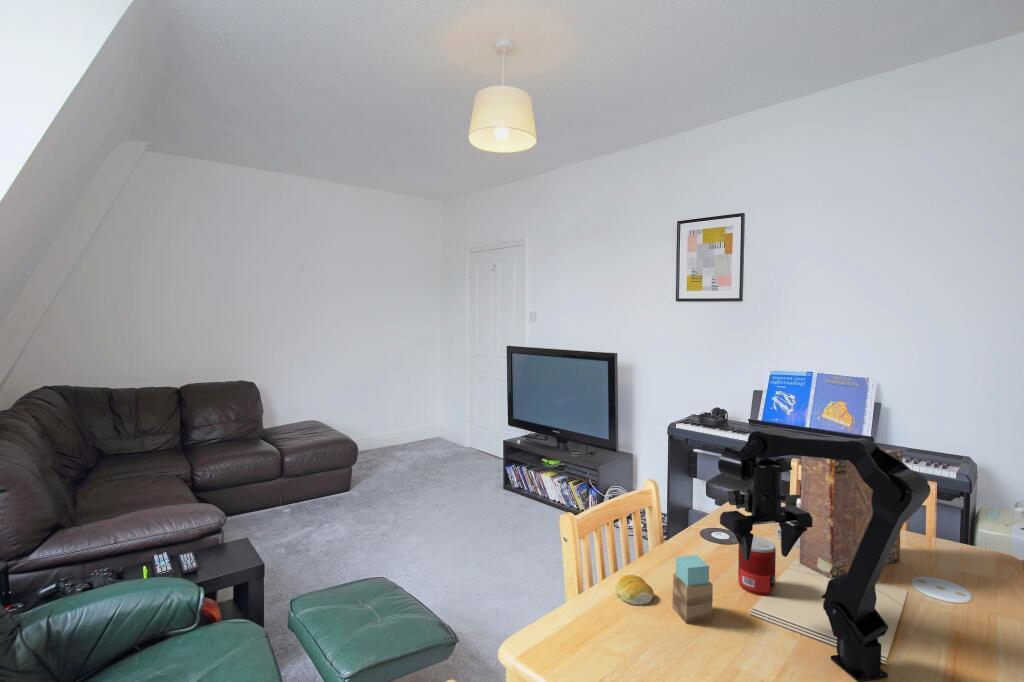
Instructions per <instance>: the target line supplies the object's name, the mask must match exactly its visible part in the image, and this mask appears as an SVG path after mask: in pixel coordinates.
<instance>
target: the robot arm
mask: <svg viewBox="0 0 1024 682" xmlns="http://www.w3.org/2000/svg"><path fill="white" fill-rule="evenodd" d="M881 448H882V447H879V446H878V445H877V444H876V443H875V442H874V441H872V440H871V439H869V438H864V437H861V438H850V437H849V438H847V437H846V438H844V437H829V436H818V435H817V436H816V435H815V436H813V435H799V434H796V433H793V432H791V431H788V430H785V429H780V428H777V427H771V428H766V429H765V428H764V429H759V430H755V431H752V432H750V434H749V435H748V438H747V442H746V443H745V444H744V446H742V448H738V447H736V446H733V445H728V446H724V451H723V453H722V454H721V455H720V457H719V460H718V461H717V468H718V470H719V472H720V474H722V475H724V476H727V477H731V478H733V479H737V480H739V481H743V482H749V481H750V480H751V487H748V488H747V490H746V493H741V492H740V490H739V489H738V490H734V489H733V490H728V493H727V500H728V503H729V505H730V506H735V509H737V510H732V511H731V510H729V511H723V512H722V513H720V515H719V525H721V526H722V527H724V528H725V529H727V530H729V531H730V532H731V533H733V534H734V537H735V538H736V540H737V543H738V547H739V546H740V549H741V552H742V554H743V557H744V559H745V560H746V561H749V558H750V554H751V548H752V541H753V536H754V534H753V533H752V531H753V529H754V528H753V527H754V525H765V524H766V525H767V524H777V523H779V525H780V528H781V540H780V550H781V551H780V552H781V555H782V556H783V557H784V558H787V556H788V555H789V553H790V552H791V550H792V549H793V547H795V546H794V544H795V543H796V541H797V540H798V539H799V537H800V536H801V535H802V534H803V532H805V531H807V528H808V527H812V523H813V518H812V517H811V515H810V513H808V512H806V511H804V510H802V509H800V508H798V507H796V506H785V505H784V506H782V501H785V500H786V497H787V495H785V494H784V493H782V481H783V480H782V478H783V477H782V476H783V473H786V472H789V471H792V470H793V467H792V466H791V464H789V463H788V462H787V461H786V459H785V458H778V459H773V458H777V457H786V456H799V457H802V456H807V457H817V458H827V459H837V460H847V461H850V462H851V463H852V464H853V465H854V466H855V468H856V470H857V471H858V473H859V475H860V476H861V478H862V480H863V481H864V482H865V483H866V484H867V485H868V486H869V487H870V488H871V489H872V490H873V492H872V497H871V504H872V511H873V514H872V517H871V519H870V522H869V524H868V526H867V529H866V531H865V533H864V536H863V538H862V540H861V542H860V545H859V547H858V549H857V552H856V554H855V556H854V559H853V561H852V563H851V565H850V568H849V570H848V572H847V573H845V574H842V575H840V576H838V577H836V578H834V579H831V578H830V579H829V580H828V583H827V585H826V591H825V593H824V594H822V595H821V597H820V598H821V599H823V604H822V607H823V610H824V611H825V614H826V616H827V618H828V621H829V624H830V628H831V630H832V634H833V636H834V637H835V638H836V654H835V655H834V654H833V655H831V656H830V660H831V661H833V663H835V664H836V665H837V666H838V667H839V668H840V669H842V671H843V670H844V671H845V672H846V673H847V674H848V675H849V676H850V677H852V678H853V679H854V680H855V681H857V682H867V681H872V680H878V679H884V678H888V675H889V674H888V673H887V671H885V670H884V669H882V667H881V666H882V658H881V657H882V644H881V643H880V642H879V638H881V637H883V636H885V635H886V634H887V631H888V630H889V629H890V628H889V625H888V624H887V622H886V621H885V620H884V619H883V617H882V616H881V613H879V612H878V610H877V609H876V604H877V594H876V585H877V582H878V580H879V578H880V575H881V574H882V571H883V570H884V567H885V566H886V565H885V563H886V561H887V559H888V557H889V554H890V552H891V550H892V548H893V546H894V544H895V541H896V539H897V537H898V535H899V533H900V534H901V531H902V528H903V527H904V524H905V523H906V522H907V521H908V520H909V519H911V517H912V516H913V515H914V514H915V513H916V512H917V511H918V510H919V509H920V508H921V506H922V505H924V503H925V501H926V500H927V499H928V498H929V496H930V494H931V486H930V484H929V482H928V480H927V479H926V478H925V477H924V476H923V475H922V474H921V473H919V472H918V471H916V470H913V469H911V468H910V467H909V466H908V465H906V463H904V462H903V460H902V461H900V460H899V459H897V458H895V457H893V456H892V455H890V454H888V453H887V452H885V451H883V450H882V449H881ZM740 509H744V511H745V512H746V513H747V514H749V513H751V515H745V514H744V513H741V512H740V511H738V510H740ZM884 565H885V566H884Z"/></svg>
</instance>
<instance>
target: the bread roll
mask: <svg viewBox="0 0 1024 682" xmlns="http://www.w3.org/2000/svg"><path fill="white" fill-rule="evenodd" d="M615 592H616V593H615V594H616V595H617V596H618V597H619V598H620V599H621V600H622V601H623V602H625V603H627V604H630V605H634V606H638V605H639V606H640V605H647V604H650V602H651V601H652V600H653V598H654V596H655V592H654V590H653V588H652V587H651V586H650V585H649V584H648V583H647V582H646V581H645V580H644V578H642V577H641V576H638V575H636V574H635V575H634V574H627V575H624V576H621V577H620V578H619V579H618V580H617V582H616V584H615Z"/></svg>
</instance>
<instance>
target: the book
mask: <svg viewBox="0 0 1024 682" xmlns="http://www.w3.org/2000/svg"><path fill="white" fill-rule="evenodd" d="M880 448H881V449H882V450H883V451H885V452H887V453H888V454H890V455H892V456H893V457H895V458H897V459H899V460H900V461H902V462H903V450H901V449H896V450H891V449H887V448H882V447H880ZM800 467H801V469H800V474H801V475H800V495H801V509H802V510H804V511H806V512H808V513H810V515H811V517H812V518H813V523H812V527H808V528H807V531H805V532H803V534H802V535H801V536H800V548H799V563H800V564H801V563H802V565H803V564H804V566H805V565H806V566H805V567H807V568H809V567H810V568H809V569H811V568H812V570H813V569H814V570H813V571H815V570H816V571H815V572H817V571H818V572H817V573H819V572H820V573H819V574H821V573H822V574H821V575H823V574H824V575H823V576H825V575H826V576H825V577H827V576H828V577H827V578H829V579H830V580H831V579H833V578H836V577H838V576H840V575H842V574H845V573H847V572H848V570H849V568H850V565H851V563H852V561H853V559H854V556H855V554H856V552H857V549H858V547H859V545H860V542H861V540H862V538H863V536H864V533H865V531H866V529H867V526H868V524H869V522H870V519H871V517H872V514H873V511H872V504H871V497H872V492H873V490H872V489H871V488H870V487H869V486H868V485H867V484H866V483H865V482H864V481H863V480H862V478H861V476H860V475H859V473H858V471H857V470H856V468H855V466H854V465H853V464H852V463H851V462H850V461H847V460H837V459H827V458H817V457H807V456H801V466H800ZM900 549H901V532H900V533H899V535H898V537H897V539H896V541H895V544H894V546H893V548H892V550H891V552H890V554H889V557H888V559H887V561H886V563H885V565H884V567H885V566H889V565H893V564H897V563H900V558H901V557H900V555H901V550H900Z"/></svg>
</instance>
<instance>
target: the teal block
mask: <svg viewBox="0 0 1024 682" xmlns="http://www.w3.org/2000/svg"><path fill="white" fill-rule="evenodd" d="M675 573H676V575H677V576H678V577H679V578H680V579H681V580H682V581H683V582H684V583H685V584H686V585H687V586H695V585H703V584H709V582H710V565H709V564H708V563H706V562H705V561H704V560H703V559H702V558H701V557H700V556H698V555H696V554H695V555H694V554H693V555H684V556H677V557H675Z"/></svg>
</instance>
